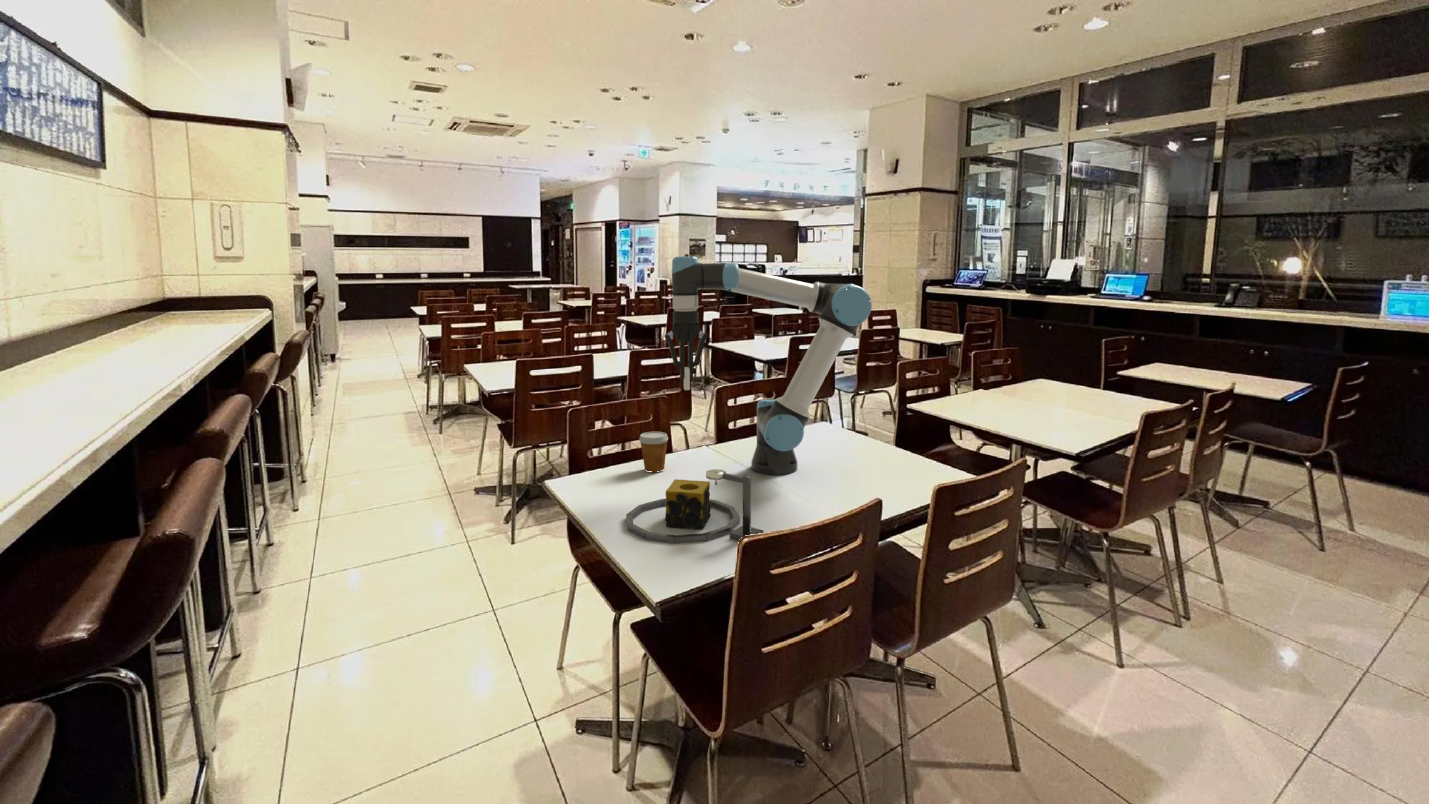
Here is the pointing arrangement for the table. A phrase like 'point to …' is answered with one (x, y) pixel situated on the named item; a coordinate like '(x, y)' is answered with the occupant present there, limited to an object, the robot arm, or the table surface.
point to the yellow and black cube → (687, 504)
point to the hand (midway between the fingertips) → (686, 389)
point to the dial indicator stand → (746, 481)
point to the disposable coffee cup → (654, 450)
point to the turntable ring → (681, 538)
